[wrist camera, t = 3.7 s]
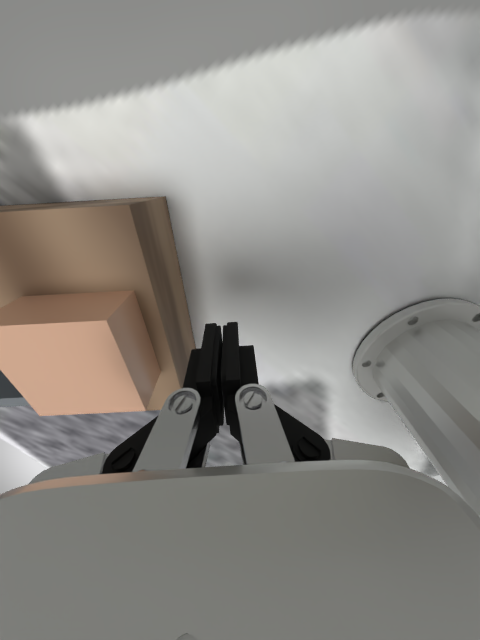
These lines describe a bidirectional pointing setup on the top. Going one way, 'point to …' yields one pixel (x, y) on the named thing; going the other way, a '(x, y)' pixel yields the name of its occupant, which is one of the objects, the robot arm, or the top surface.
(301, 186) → the top surface
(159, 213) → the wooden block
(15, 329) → the terracotta block
